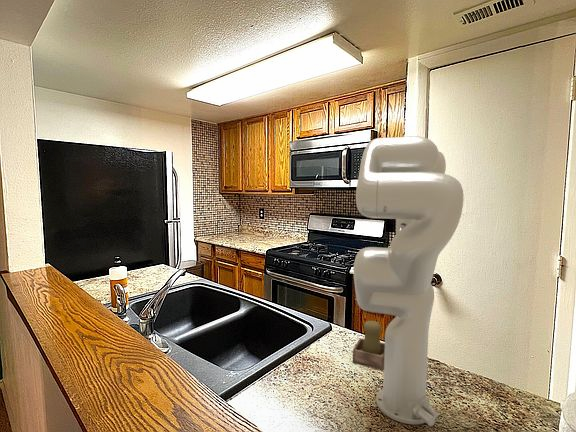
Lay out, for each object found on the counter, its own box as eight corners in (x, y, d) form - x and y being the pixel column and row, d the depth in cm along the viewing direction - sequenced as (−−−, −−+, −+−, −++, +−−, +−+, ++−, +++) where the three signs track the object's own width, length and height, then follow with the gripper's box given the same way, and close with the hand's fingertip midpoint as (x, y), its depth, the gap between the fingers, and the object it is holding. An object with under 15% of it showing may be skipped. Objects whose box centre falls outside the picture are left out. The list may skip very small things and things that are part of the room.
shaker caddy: (388, 356, 98) (388, 344, 98) (384, 370, 90) (384, 357, 90) (359, 350, 102) (359, 338, 102) (352, 362, 94) (353, 349, 93)
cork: (382, 363, 92) (383, 327, 92) (361, 360, 93) (362, 324, 93) (380, 353, 98) (381, 319, 98) (361, 351, 99) (362, 317, 99)
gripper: (417, 200, 85) (414, 262, 86) (421, 201, 101) (419, 253, 101) (388, 200, 88) (386, 259, 89) (396, 201, 104) (395, 251, 105)
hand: (404, 256), depth 95 cm, fingers open, 9 cm apart
